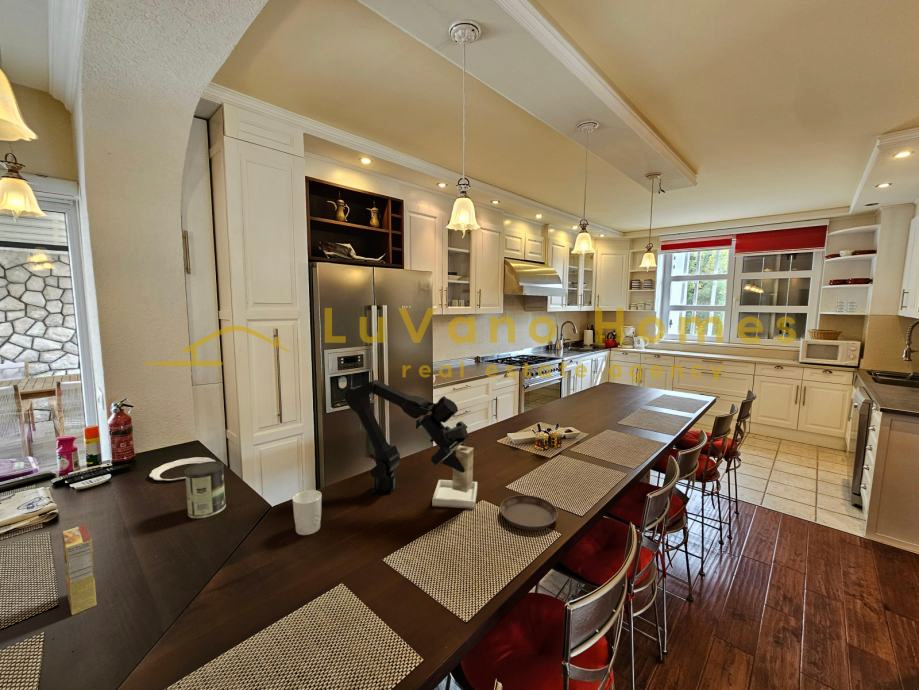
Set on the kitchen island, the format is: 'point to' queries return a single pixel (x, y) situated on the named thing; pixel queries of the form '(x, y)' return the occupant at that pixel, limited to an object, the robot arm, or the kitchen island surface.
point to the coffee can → (205, 489)
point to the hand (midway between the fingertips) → (466, 468)
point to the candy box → (79, 569)
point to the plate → (156, 472)
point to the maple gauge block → (464, 479)
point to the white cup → (307, 511)
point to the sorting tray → (454, 496)
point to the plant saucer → (528, 512)
